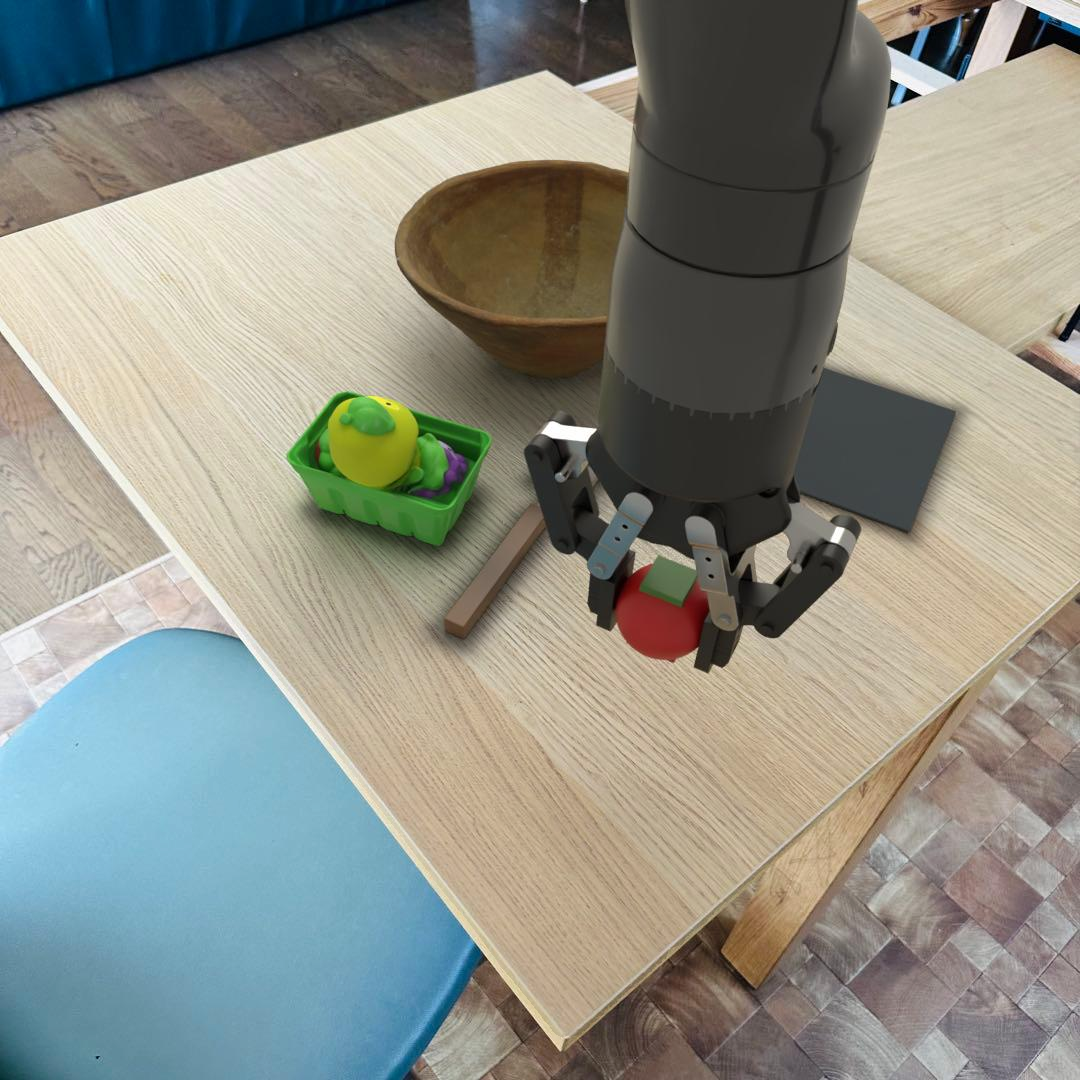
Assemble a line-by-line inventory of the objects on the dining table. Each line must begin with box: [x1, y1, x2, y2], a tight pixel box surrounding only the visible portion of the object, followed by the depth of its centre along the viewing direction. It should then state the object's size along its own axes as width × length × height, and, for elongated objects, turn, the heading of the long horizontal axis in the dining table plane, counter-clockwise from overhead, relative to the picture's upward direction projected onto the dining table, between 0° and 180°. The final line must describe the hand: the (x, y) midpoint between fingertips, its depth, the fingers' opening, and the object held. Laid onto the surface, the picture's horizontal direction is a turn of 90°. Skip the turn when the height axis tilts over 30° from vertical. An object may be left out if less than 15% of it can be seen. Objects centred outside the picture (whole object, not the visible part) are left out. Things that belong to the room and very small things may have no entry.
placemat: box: [795, 367, 957, 534], centre depth 75 cm, size 16×14×1 cm
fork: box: [443, 465, 599, 640], centre depth 67 cm, size 20×4×1 cm, turn 152°
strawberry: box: [615, 554, 710, 664], centre depth 46 cm, size 4×4×4 cm
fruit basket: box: [285, 391, 493, 547], centre depth 64 cm, size 11×9×11 cm
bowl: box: [394, 159, 629, 379], centre depth 77 cm, size 22×23×10 cm
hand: (660, 635), depth 48 cm, fingers closed on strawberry, 4 cm apart
